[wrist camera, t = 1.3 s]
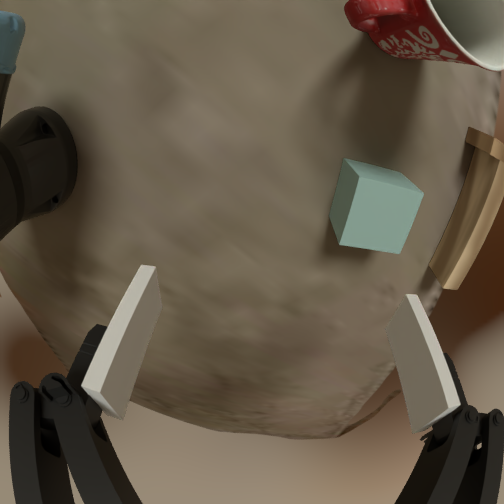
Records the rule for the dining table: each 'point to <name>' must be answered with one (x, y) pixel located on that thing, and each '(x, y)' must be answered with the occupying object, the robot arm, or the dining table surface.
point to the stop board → (471, 211)
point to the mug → (434, 29)
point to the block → (373, 207)
